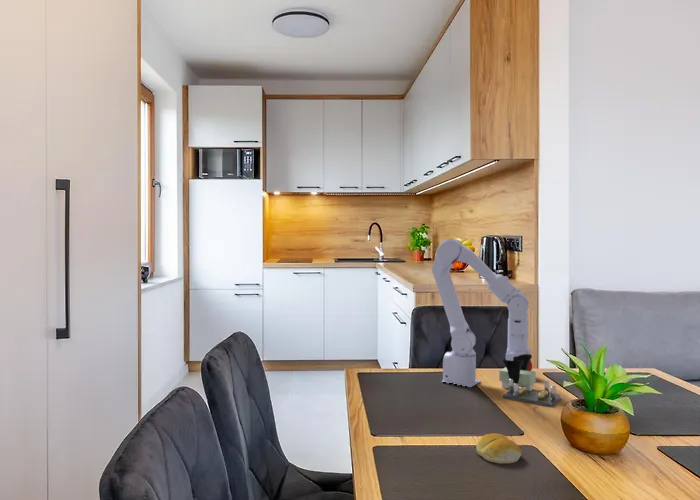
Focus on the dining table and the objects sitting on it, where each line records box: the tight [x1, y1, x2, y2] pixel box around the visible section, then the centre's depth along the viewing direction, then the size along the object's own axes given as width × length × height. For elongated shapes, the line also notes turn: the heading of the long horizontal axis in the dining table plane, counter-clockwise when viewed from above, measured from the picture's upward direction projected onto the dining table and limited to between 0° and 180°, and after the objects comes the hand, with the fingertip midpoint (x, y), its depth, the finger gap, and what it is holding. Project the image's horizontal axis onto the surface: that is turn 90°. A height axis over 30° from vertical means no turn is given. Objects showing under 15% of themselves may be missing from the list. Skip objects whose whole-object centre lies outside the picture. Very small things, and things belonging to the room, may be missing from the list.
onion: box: [527, 359, 533, 371], centre depth 166 cm, size 6×6×8 cm
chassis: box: [502, 379, 562, 408], centre depth 143 cm, size 13×9×4 cm
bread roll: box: [475, 432, 522, 465], centre depth 106 cm, size 8×9×4 cm
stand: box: [501, 381, 534, 391], centre depth 153 cm, size 8×3×2 cm, turn 53°
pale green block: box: [498, 366, 537, 386], centre depth 153 cm, size 9×5×3 cm, turn 53°
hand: (517, 380), depth 153 cm, fingers closed on pale green block, 5 cm apart
